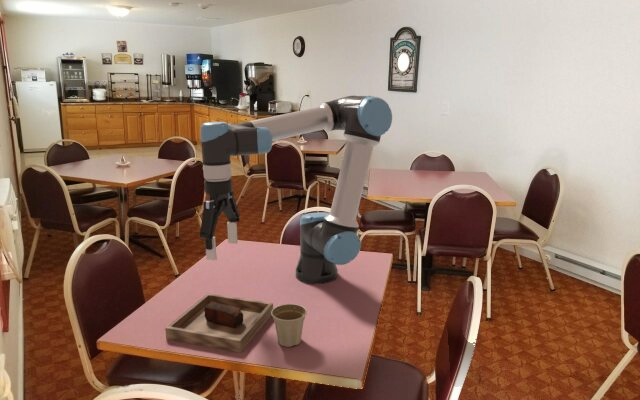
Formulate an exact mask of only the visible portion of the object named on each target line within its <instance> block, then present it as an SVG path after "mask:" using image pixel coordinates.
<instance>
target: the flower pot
mask: <svg viewBox="0 0 640 400" xmlns="http://www.w3.org/2000/svg"><path fill="white" fill-rule="evenodd" d="M307 313H308V310H307V309H306V307H305V306H303V305H301V304H296V303H284V304H280V305H277V306H275V307H273V310H272V311H271V317H272V320H273V321H274V326H275V331H276V338H277V342H278V344H279V345H280V346H282V347H286V348H290V347H291V348H292V347H293V346H299V344H300V343H301V341H302V335H303V329H304V328H303V327H304V321H305V319H306V316H307Z"/></svg>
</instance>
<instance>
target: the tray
mask: <svg viewBox="0 0 640 400" xmlns="http://www.w3.org/2000/svg"><path fill="white" fill-rule="evenodd" d="M211 302H216V303H220V304H224V305H228V306H232V307H236V308H240V310H241V312H242V313H243V323H242V324H239V325H238V326H237V327H236V328H232V327H228V326H224V325H220V324H215V323H213V322H209V321H207V320H206V318H205V307H206V306H207V305H208V304H210V303H211ZM273 308H274V302H269V301H268V302H267V301H262V300H255V299H249V298H241V297H235V296H228V295H221V294H214V293H209V292H208V293H206V294H205V295H204V296H202V297H200V299H199V300H197V301H196V302H195V303H194V304H193V305H192V306H190V307H189V308H188V309H187V310H185V311H184V312H183V313H182V314H181V315H179V316H178V317H176V318H175V319H174V320H173V321H171V322H170V323H169V324H168V325H167V326H166V327H165V329H164V330H165V338H166V340H172V341H176V342H182V343H186V344H187V343H188V344H192V345H198V346H204V347H208V348H214V349H220V350H225V351H229V352H235V353H242V351H243V350H244V349H245V348H246V347H247V346H248V344H249V343H250V342H251V340H253V338H254V337H255V336H256V335H257V333H258V332H259V331H260V330H261V329H262V327H264V325H265V324H266V323H267V322H268V320H269V319H270V318H271V317H272V315H271V311H272V310H273Z"/></svg>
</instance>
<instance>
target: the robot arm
mask: <svg viewBox="0 0 640 400" xmlns="http://www.w3.org/2000/svg"><path fill="white" fill-rule="evenodd" d="M392 112H393V111H392V110H391V107H390V106H389V103H388V102H387V101H386V100H384V99H383V98H381V97H377V96H374V95H373V96H372V95H349V96H344V97H341V98H336V99H333V100H330V101H326V102H322V103H320V105H319V106H317V107H312V108H307V109H302V110H298V111H293V112H287V113H283V114H280V115H279V114H278V115H274V116H269V117H264V118H259V119H255V120H254V119H253V120H250V121H245V122H240V123H235V122H233V123H228V122H226V121H207V122H204V123H202V124H201V125H200V139H199V141H200V144H201V145H200V148H201V156H202V171H203V178H204V182H203V184H204V185H203V186H204V193H205V194H207V195H209V200H203V201H202V202H203V210H202V218H201V223H200V230H199V238H201V239H204V243H205V256H206V257H205V258H206V260H207V261H209V260H210V261H216V260H217V259H218V257H217V244H216V236H215V235H214V234H215V231H216V227H217V224H218V220H219V218H220V216H221V215H222V213H223V215H225V217H226V219H227V220H228V221H227V223H226V228H227V243H228V244H238V240H239V239H238V227H237V226H238V225H237V223H239V222H240V221H241V220H240V212H239V208H238V205H237V203H236V199H235V192H234V190H233V180H232V179H231V177H232V163H231V162H232V161H231V157H236V156H237V157H239V156H249V155H252V156H253V155H259V156H260V155H261V154H268V153H269V152H270V151H271V150H272V147H273V142H274V141H279V140H283V139H287V138H292V137H296V136H301V135H306V134H310V133H314V132H318V131H323V130H324V131H325V132H332V131H343V137H344V138H345V140H346V144H345V149H344V151H343V157H342V161H341V166H340V169H339V174H338V176H337V177H338V178H337V181H336V182H337V183H336V187H335V190H334V194H333V199H332V204H331V208H330V212H321V211H320V212H319V211H318V212H310V213H306V214H303V215H302V216H301V217H300V221H299V229H300V230H299V235H300V236H299V239H300V240H299V241H300V243H299V244H300V246H299V248H300V252H299V253H300V254H299V255H300V256H299V259H298V261H297V264H296V267H295V278H296V279H297V280H298V281H301V282H303V283H307V284H312V285H313V284H317V285H318V284H319V285H320V284H327V283H330V282H332V281H335V280H336V279H337V278H338V267H337V265H339V266H342V265H343V266H344V265H346V264H349V263H351V262H352V261H353V260H354V259H356V258H357V256H358V255H359V253H360V251H361V247H362V241H361V239H360V237H359V235H358V229H359V227H360V225H359V223H358V221H357V217H358V216H357V215H358V211H359V206H360V203H361V199H362V194H363V190H364V187H365V183H366V178H367V175H368V170H369V165H370V162H371V159H372V154H373V151H374V148H375V146H377V145H378V144H380V141H381V137H382V136H383V135H384V134H386V132H388V131H389V130H390V128H391V126H392V122H393V113H392Z"/></svg>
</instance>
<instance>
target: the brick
mask: <svg viewBox="0 0 640 400" xmlns="http://www.w3.org/2000/svg"><path fill="white" fill-rule="evenodd" d="M205 318H206V320H207V321H209V322H213V323H215V324H220V325H224V326H228V327H232V328H236V327H237V326H238V325H239V324H242V323H243V313H242V312H241V310H240V308H236V307H232V306H228V305H224V304H220V303H216V302H211V303H210V304H208V305H207V306H206V307H205Z"/></svg>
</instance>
